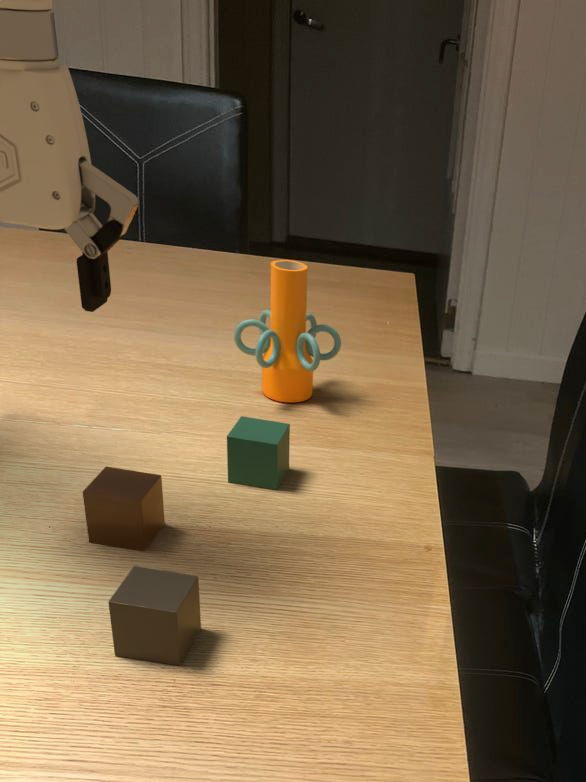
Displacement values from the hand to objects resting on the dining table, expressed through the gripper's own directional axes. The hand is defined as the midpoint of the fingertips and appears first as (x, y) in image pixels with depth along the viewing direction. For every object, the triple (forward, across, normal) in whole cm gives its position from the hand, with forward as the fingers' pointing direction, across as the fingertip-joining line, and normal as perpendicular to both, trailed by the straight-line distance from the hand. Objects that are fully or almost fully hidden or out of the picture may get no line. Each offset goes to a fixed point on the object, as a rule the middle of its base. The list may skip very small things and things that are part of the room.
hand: (33, 296), depth 72 cm
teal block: (+20, +13, +15) cm, 28 cm away
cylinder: (+20, +11, +36) cm, 43 cm away
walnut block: (+20, +6, 0) cm, 21 cm away
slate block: (+20, +14, -14) cm, 28 cm away
